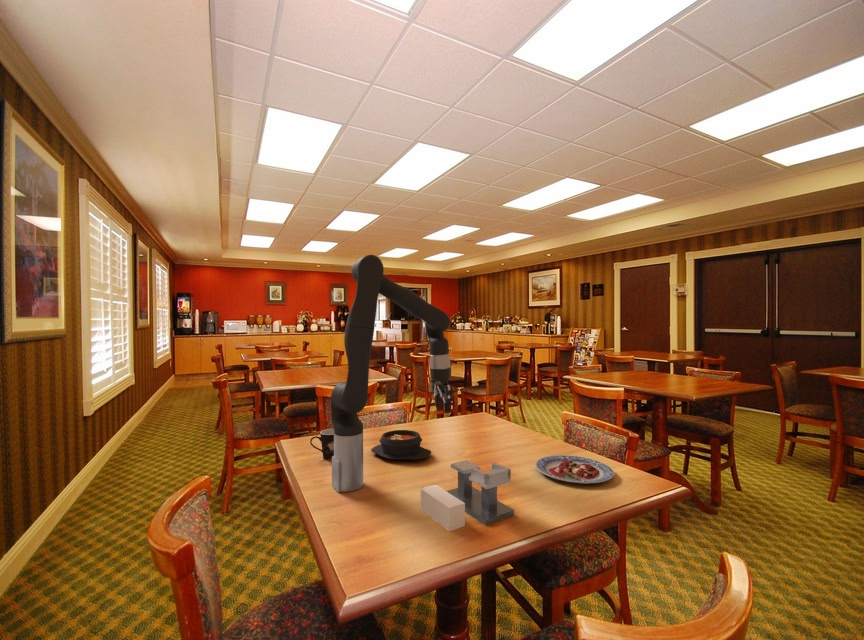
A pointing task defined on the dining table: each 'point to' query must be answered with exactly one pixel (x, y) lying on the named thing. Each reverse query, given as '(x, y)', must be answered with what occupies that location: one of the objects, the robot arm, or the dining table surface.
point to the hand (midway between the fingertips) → (442, 409)
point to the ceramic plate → (574, 469)
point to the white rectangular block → (443, 507)
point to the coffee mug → (326, 443)
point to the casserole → (401, 446)
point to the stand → (482, 491)
